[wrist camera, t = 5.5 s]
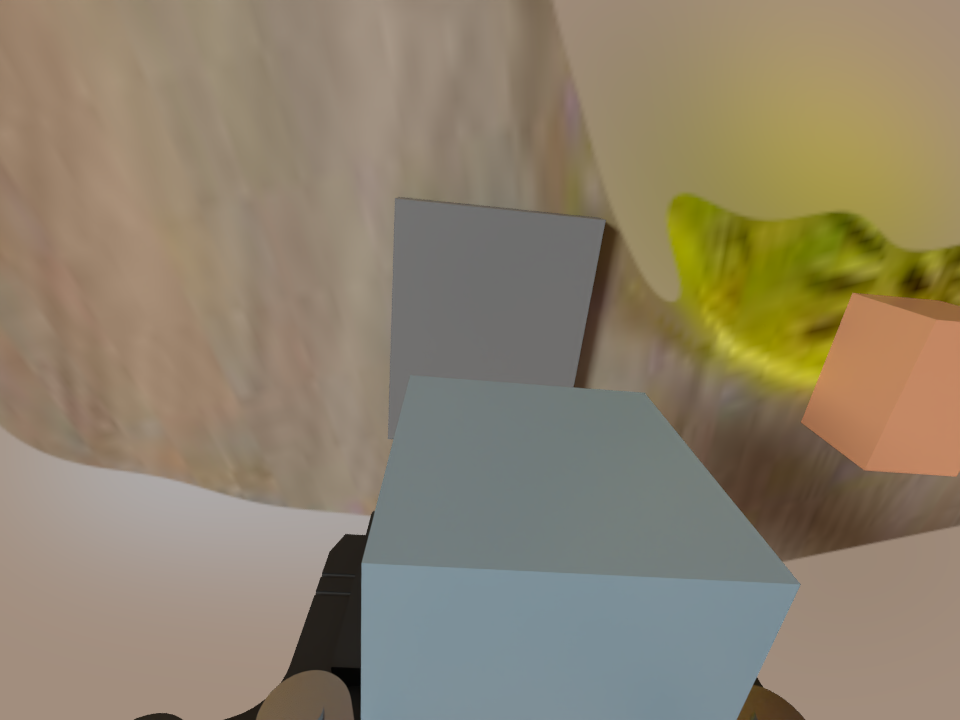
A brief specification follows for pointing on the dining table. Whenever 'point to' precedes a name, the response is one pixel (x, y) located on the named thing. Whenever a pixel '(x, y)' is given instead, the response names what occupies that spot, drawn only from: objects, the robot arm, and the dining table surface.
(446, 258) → the baseplate
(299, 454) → the dining table surface
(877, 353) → the terracotta brick
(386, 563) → the slate brick
